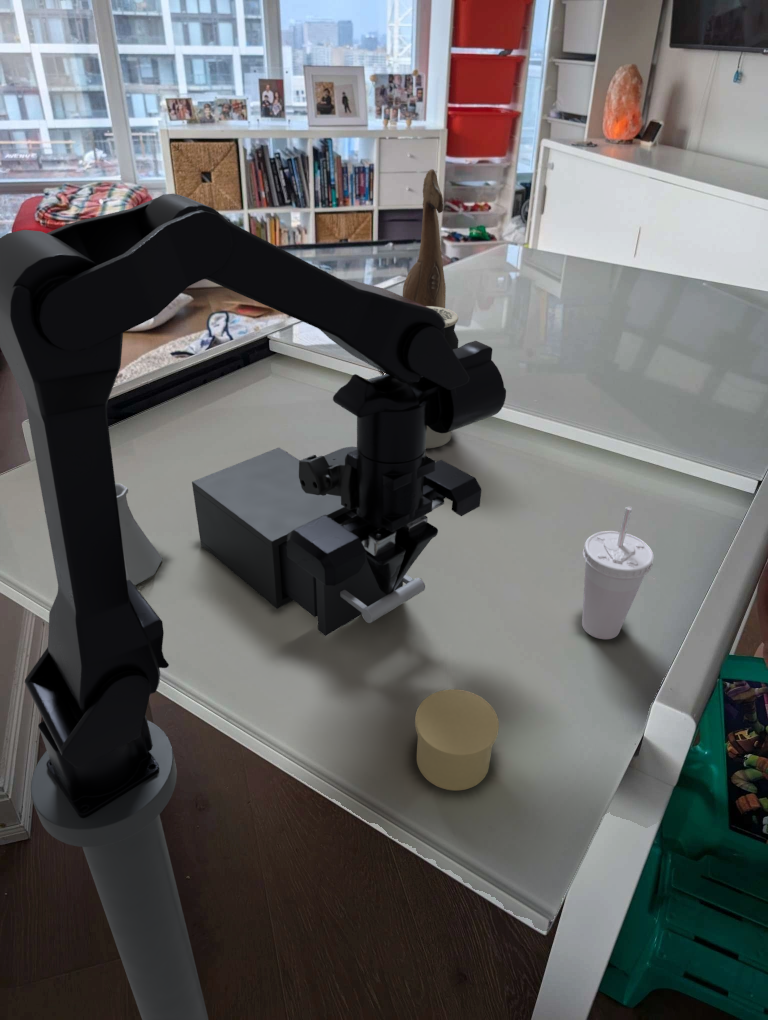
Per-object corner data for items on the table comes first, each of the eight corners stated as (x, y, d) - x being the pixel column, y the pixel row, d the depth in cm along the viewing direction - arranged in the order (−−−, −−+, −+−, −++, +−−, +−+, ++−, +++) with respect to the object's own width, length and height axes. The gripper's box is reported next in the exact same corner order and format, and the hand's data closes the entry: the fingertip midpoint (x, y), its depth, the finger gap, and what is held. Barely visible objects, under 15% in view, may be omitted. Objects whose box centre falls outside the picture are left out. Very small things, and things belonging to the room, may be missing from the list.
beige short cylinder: (455, 809, 59) (459, 769, 56) (396, 757, 63) (398, 717, 60) (509, 761, 62) (516, 722, 60) (450, 715, 66) (454, 676, 64)
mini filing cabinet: (361, 563, 84) (362, 498, 79) (276, 609, 78) (271, 541, 73) (283, 508, 93) (279, 447, 88) (200, 545, 86) (191, 481, 82)
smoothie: (635, 614, 78) (666, 500, 70) (631, 655, 73) (664, 538, 65) (572, 599, 80) (596, 487, 72) (564, 639, 75) (588, 523, 67)
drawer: (435, 613, 76) (439, 559, 72) (357, 662, 70) (357, 607, 66) (321, 533, 87) (319, 483, 83) (245, 571, 81) (240, 518, 77)
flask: (77, 579, 81) (56, 500, 75) (121, 542, 87) (104, 466, 81) (133, 596, 79) (116, 517, 73) (174, 557, 84) (161, 481, 79)
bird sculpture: (404, 397, 120) (413, 180, 102) (375, 369, 129) (378, 165, 111) (466, 386, 124) (485, 175, 106) (433, 360, 133) (445, 161, 115)
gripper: (404, 384, 73) (399, 518, 82) (241, 446, 62) (255, 592, 71) (492, 425, 66) (476, 565, 75) (327, 502, 56) (331, 655, 64)
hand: (386, 591), depth 72 cm, fingers closed
